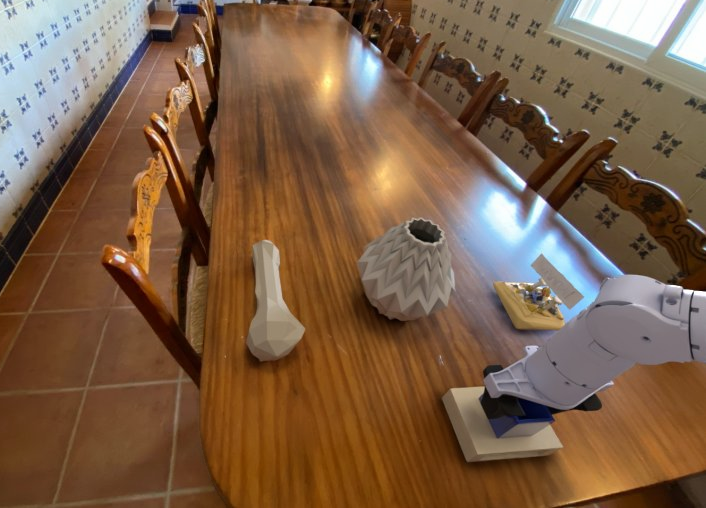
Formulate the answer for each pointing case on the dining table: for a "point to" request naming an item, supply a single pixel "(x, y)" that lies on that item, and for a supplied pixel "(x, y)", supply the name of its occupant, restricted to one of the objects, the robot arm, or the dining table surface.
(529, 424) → the box
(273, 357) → the faceted club
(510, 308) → the cake
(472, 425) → the beige flat block
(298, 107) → the dining table surface
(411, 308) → the vase
